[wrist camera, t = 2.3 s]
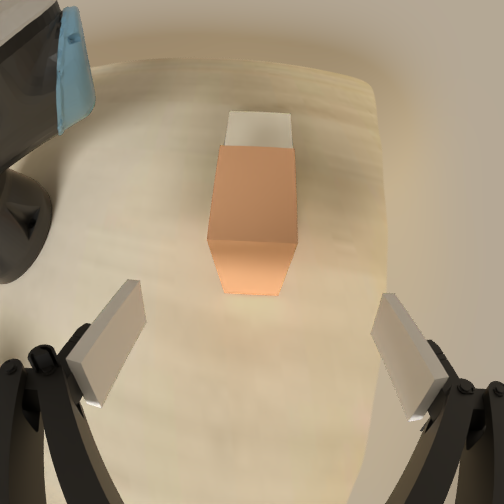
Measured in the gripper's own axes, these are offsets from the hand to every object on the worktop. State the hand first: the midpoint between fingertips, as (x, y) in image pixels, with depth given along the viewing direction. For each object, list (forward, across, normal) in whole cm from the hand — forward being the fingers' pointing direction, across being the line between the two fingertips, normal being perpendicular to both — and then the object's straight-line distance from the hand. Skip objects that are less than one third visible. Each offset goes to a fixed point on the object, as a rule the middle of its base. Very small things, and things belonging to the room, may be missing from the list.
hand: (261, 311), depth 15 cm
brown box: (+14, -1, -3) cm, 14 cm away
